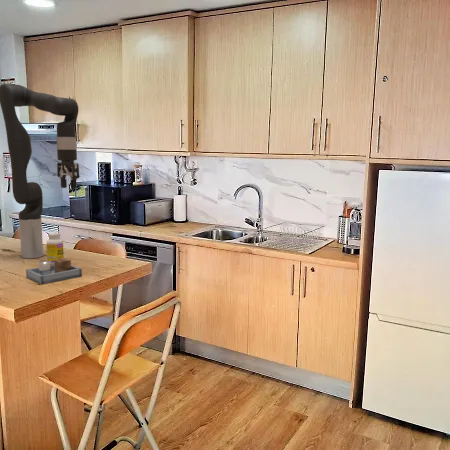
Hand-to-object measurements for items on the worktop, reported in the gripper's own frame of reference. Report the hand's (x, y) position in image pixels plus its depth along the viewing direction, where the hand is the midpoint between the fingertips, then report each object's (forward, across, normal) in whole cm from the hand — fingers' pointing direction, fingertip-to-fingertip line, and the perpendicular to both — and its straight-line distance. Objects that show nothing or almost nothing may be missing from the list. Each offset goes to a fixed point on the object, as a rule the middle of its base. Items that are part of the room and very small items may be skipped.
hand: (68, 188), depth 195 cm
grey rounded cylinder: (+31, -13, +18) cm, 38 cm away
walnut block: (+31, -13, +10) cm, 35 cm away
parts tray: (+32, -13, +14) cm, 37 cm away
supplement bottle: (+32, +7, +4) cm, 33 cm away
